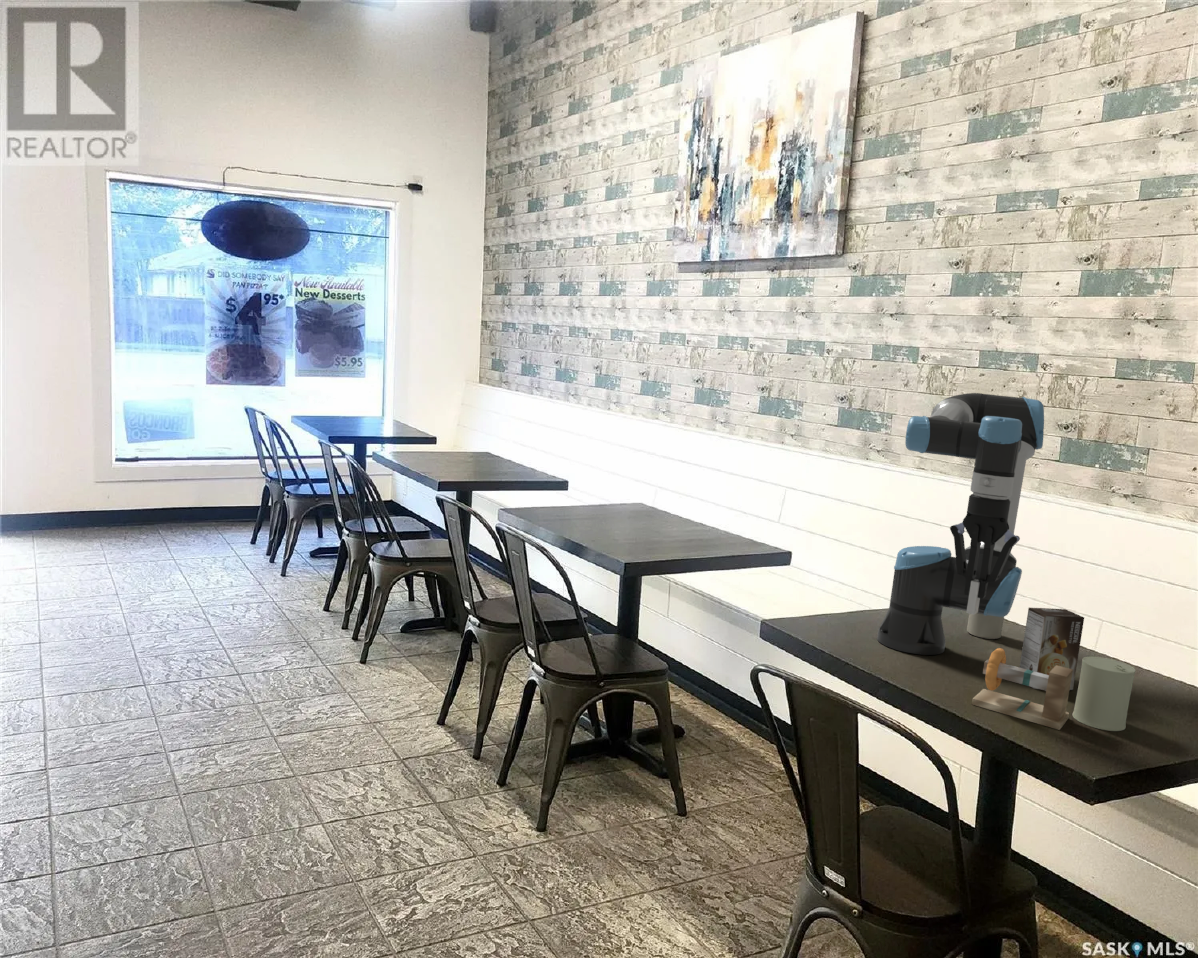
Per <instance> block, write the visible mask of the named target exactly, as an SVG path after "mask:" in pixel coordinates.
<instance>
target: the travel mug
mask: <svg viewBox="0 0 1198 958" xmlns="http://www.w3.org/2000/svg"><path fill="white" fill-rule="evenodd" d="M1004 620H1005V616H1004V617H997V616H990V615H987V616H985V615H984V614H979V613H976V614H974V615H973V614H969V613H968V620H967V626H966V632H967V633H969V634H970V635H972V636H975V637H977V638H980V639H981V638H982V639H986V640H987V639H988V640H998V639H1000V638H1002V631H1003V626H1004Z"/></svg>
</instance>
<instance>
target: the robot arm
mask: <svg viewBox="0 0 1198 958" xmlns="http://www.w3.org/2000/svg"><path fill="white" fill-rule="evenodd" d="M1044 427H1045V407H1044V404H1043V403H1042V401H1041V400H1038V399H1033V398H1029V397H1028V398H1027V397H1025V396H1022V397H1018V396H1017V397H1016V396H1007V395H999V394H988V393H981V392H971V393H970V392H969V393H968V392H967V393H962V394H958V395H952V396H949V397H946V398H944V399H942V400H941V401H939V402H938V403H936V405H935V406H934V407H933V409H932V411H931V415H930V416H927V415H922V416H921V415H913V416H911V417H910V418H909V420H908V423H907V427H906V432H905V441H904V443H905V448H906V449H907V450H908V451H911V452H915V453H920V454H932V455H941V456H948V457H956V458H962V459H969V460H974V467H973V471H972V477H971V483H970V489H969V490H970V491H971V492H972V494H970V495H969V497H968V501H967V502H968V503H967V504H968V505H967V510H966V515H965V517H964V518H963V519H962V522H960V523H957V524H953V525H951V526H950V527H949V530H950V533H951V534H952V537H953V541H954V553H955V556H952V552H951V549H949V548H946V547H941V546H935V545H934V546H933V545H932V546H931V545H915V546H914V545H913V546H908V547H904V548H902V549H900V550H899V551H898V552H897V556H896V561H895V565H893V570H894V573H893V577H892V578H893V579H892V580H893V581H892V585H891V593H890V601H889V606H888V609H887V611H886V613H885V616H884V618H883V619H882V621H881V623H880V625H879V627H878V630H877V634H876V635H877V637H876V640H877V641H878V642H879V643H881V645H884V646H886V647H888V648H890V649H892V650H896V651H899V652H903V653H909V654H913V655H920V656H921V655H923V656H935V655H941V654H943V653H944V652H945V651H946V650H945V648H946V636H945V635H946V634H945V632H944V625H943V619H942V616H943V615H942V614H943V608H949V609H952V610H953V609H954V610H959V611H965V613H966V614H968V615H969V614H973V615H974V614H976V613H979V614H984V615H985V616H987V615H990V616H997V617H1004V618H1005V617H1006V616H1008V614H1009V613H1010V612H1011V609H1012V606H1013V604H1014V601H1015V598H1016V595H1017V592H1018V588H1019V584H1020V582H1021V581H1020V580H1021V579H1022V574H1023V570H1022V569H1021V568H1020V567H1018V566H1017V559H1016V557H1015V556H1014V555H1013V553H1012V549H1013V548H1014V546H1015V545H1016V544H1017V543H1018V542H1019V541H1020V539H1021V538H1020V536H1019V535H1016V534H1015V528H1016V523H1017V517H1018V510H1019V505H1020V498H1021V492H1022V486H1023V483H1024V481H1023V480H1024V475H1025V470H1026V464H1027V461H1028V460H1029V459H1031V458H1033V456H1034V455H1035V453H1036V450H1041V449H1042V448H1043V446H1044V445H1043V444H1044V434H1045V432H1044V429H1045V428H1044ZM965 530H966V532H967V534H968V536H969V537H970V545H969V546H967V547H966V546H965V538H964V533H965Z"/></svg>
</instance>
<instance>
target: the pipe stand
mask: <svg viewBox="0 0 1198 958" xmlns="http://www.w3.org/2000/svg"><path fill="white" fill-rule="evenodd" d="M989 659H990V658H987V659H986V660H985V661H984V663H983V668H982V674H983V675H986V670H987V664H988V661H989ZM1072 673H1073V669H1069V668H1065V667H1061V666H1057V665H1056V666H1055V667H1054V668H1053V669H1052V670H1051V671H1050V672H1049V675H1046V674H1042V673H1038V672H1034V671H1031V670H1027V669H1023V668H1020V666H1015V665H1011V664H1004V663H1000V664H999V667H998V672H997V678H1001V679H1002V680H1006V681H1008V682H1013V683H1016V684H1020V685H1023V686H1026V687H1031V688H1032V687H1034V688H1038V689H1037V690H1042V691H1045V696H1044V702H1043V704H1040V703H1036V702H1033V701H1031V700H1028V699H1022V698H1019V697H1015V696H1011V695H1008V694H1004V693H1000V692H997V691H995V690H989V689H988V688H987V689H986V688H982V689H981V690H980V691H979V692H978V693H977V694H976V695H975V696H974V697H972V701H971V705H972V706H975V707H976V706H977V707H978V708H982V709H986V710H990V711H994V712H997V713H1000V714H1002V715H1003V714H1004V715H1006V716H1011V717H1013V718H1018V719H1021V720H1024V721H1027V722H1031V723H1035V724H1036V725H1037V724H1038V725H1041V726H1046V727H1049V728H1052V729H1054V730H1057V731H1058V730H1059V731H1060V730H1061V729H1062V728H1063V726H1064V725H1065V724H1066V723H1067V721H1068V720H1069V718H1070V717H1069V716H1070V712H1068V711H1067V707H1068V701H1069V695H1070V691H1071V690H1070V684H1071V679H1072ZM1034 688H1033V689H1034Z"/></svg>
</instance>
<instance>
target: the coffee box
mask: <svg viewBox="0 0 1198 958" xmlns="http://www.w3.org/2000/svg"><path fill="white" fill-rule="evenodd" d="M1027 609H1028V610H1027V617H1026V623H1025V629H1024V630H1025V631H1024V637H1023V642H1022V643H1023V644H1022V648H1021V657H1020V663H1019V668H1023V669H1027V670H1031V671H1034V672H1038V673H1042V674H1046V675H1049V672H1050V671H1051V670H1052V669H1053V668H1054V667H1055V666H1056V665H1057V666H1061V667H1065V668H1069V669H1073V673H1072V679H1071V684H1070V690H1069V691H1073V690H1074V684H1075V679H1076V672H1077V665H1078V659H1079V653H1080V647H1081V641H1082V635H1083V629H1084V624H1085V623H1084V622H1085V621H1084V620H1085V617H1084V616H1082V615H1080V614H1077V613H1075V612H1073V611H1071V610H1068V609H1066V608H1065V609H1064V608H1050V607H1049V608H1045V607H1028V608H1027ZM1031 689H1034V690H1039V689H1038V688H1034V687H1031Z"/></svg>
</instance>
